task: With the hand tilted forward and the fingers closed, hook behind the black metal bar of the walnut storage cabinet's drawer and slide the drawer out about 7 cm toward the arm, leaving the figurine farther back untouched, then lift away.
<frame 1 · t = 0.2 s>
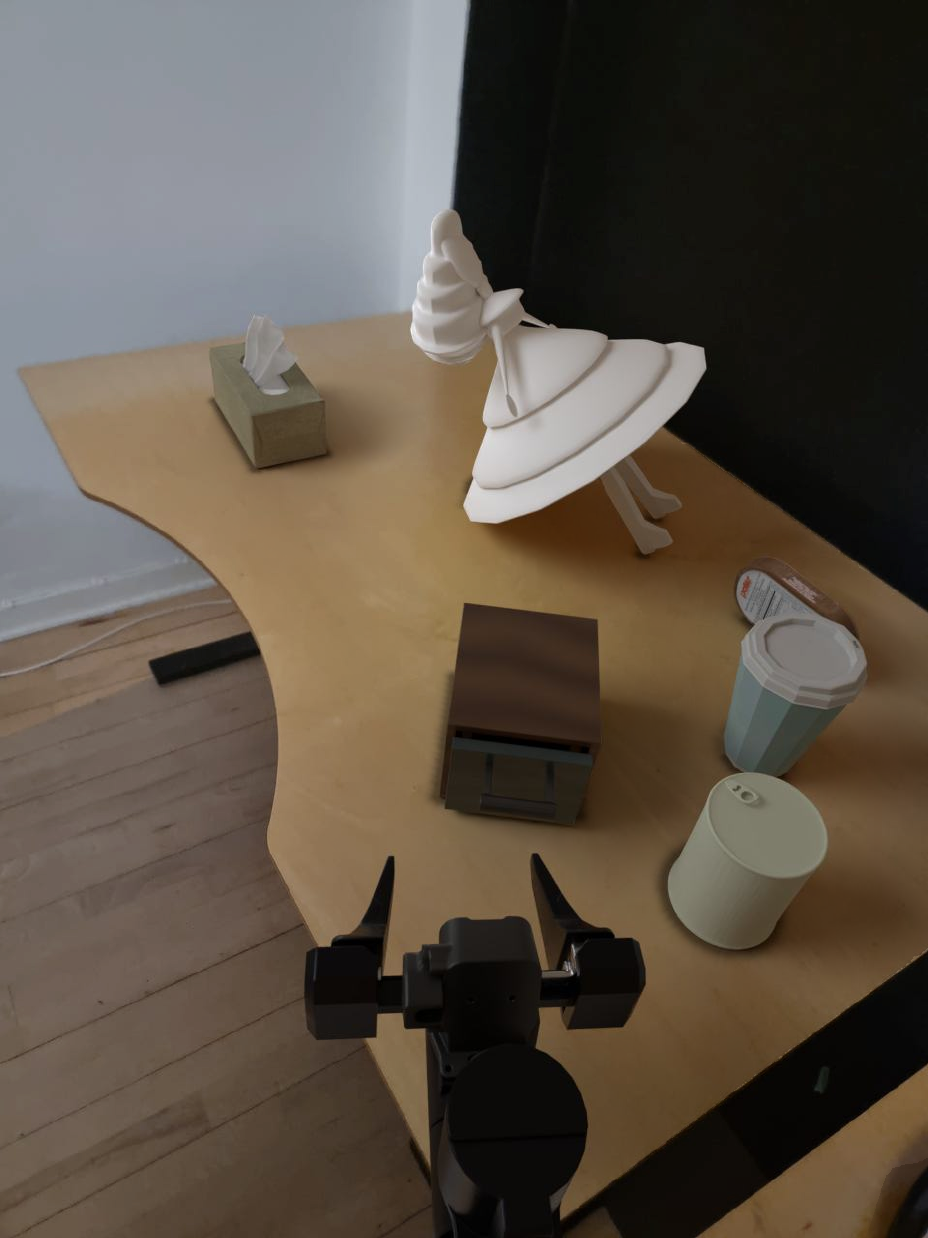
hand: (463, 857, 54), 16 cm above the table, tool horizontal, fingers open, 9 cm apart
drawer: (517, 745, 74), point 5 cm above the table, slide at 0.5 cm
tissue box: (269, 427, 117), on the table
cabinet: (512, 742, 81), on the table
disposable coffee cup: (753, 752, 83), on the table
tin: (778, 642, 95), on the table
figurine: (535, 502, 109), on the table
can: (721, 898, 71), on the table
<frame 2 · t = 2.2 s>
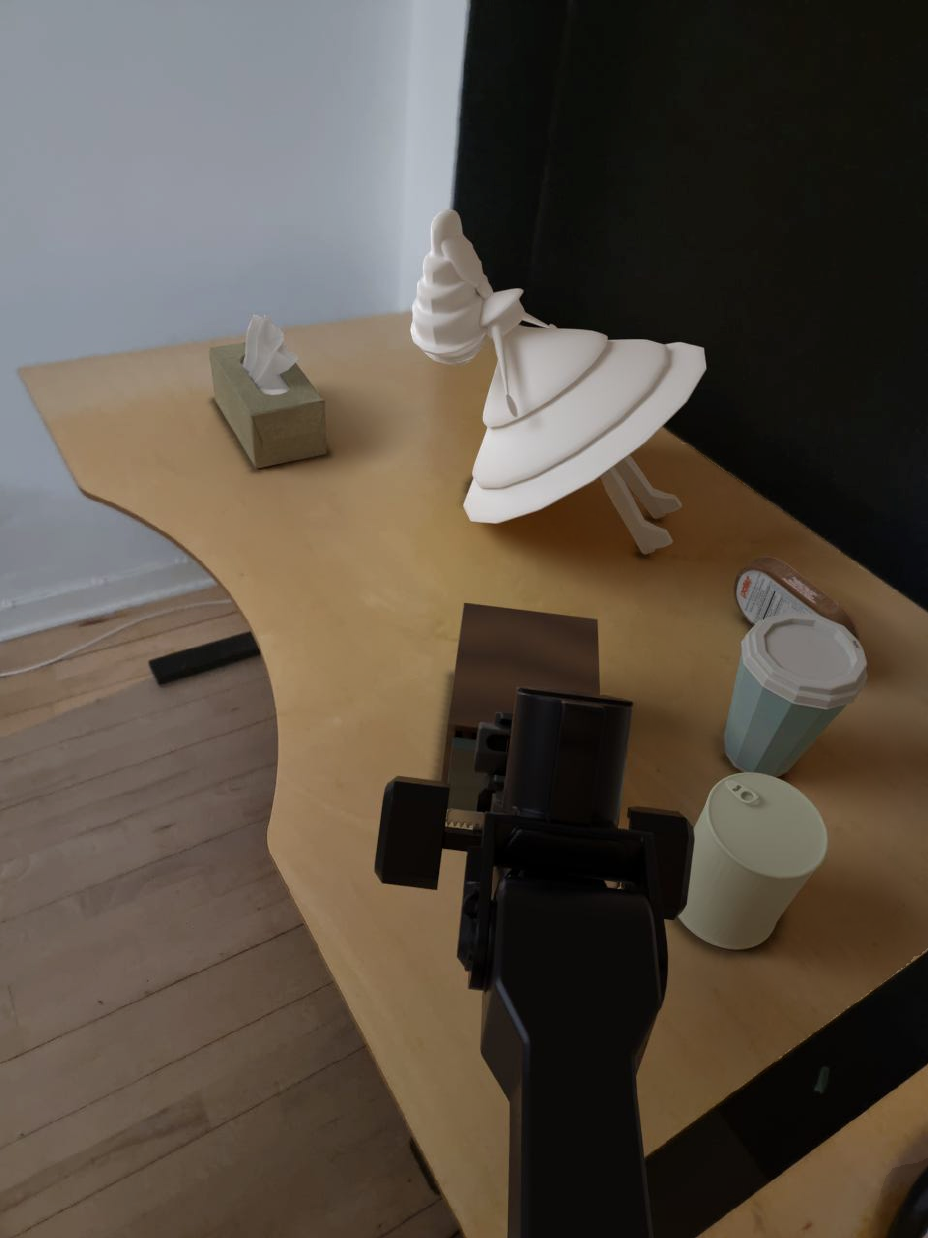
hand: (523, 816, 60), 13 cm above the table, tool tilted 45°, fingers closed
nothing on the table moved.
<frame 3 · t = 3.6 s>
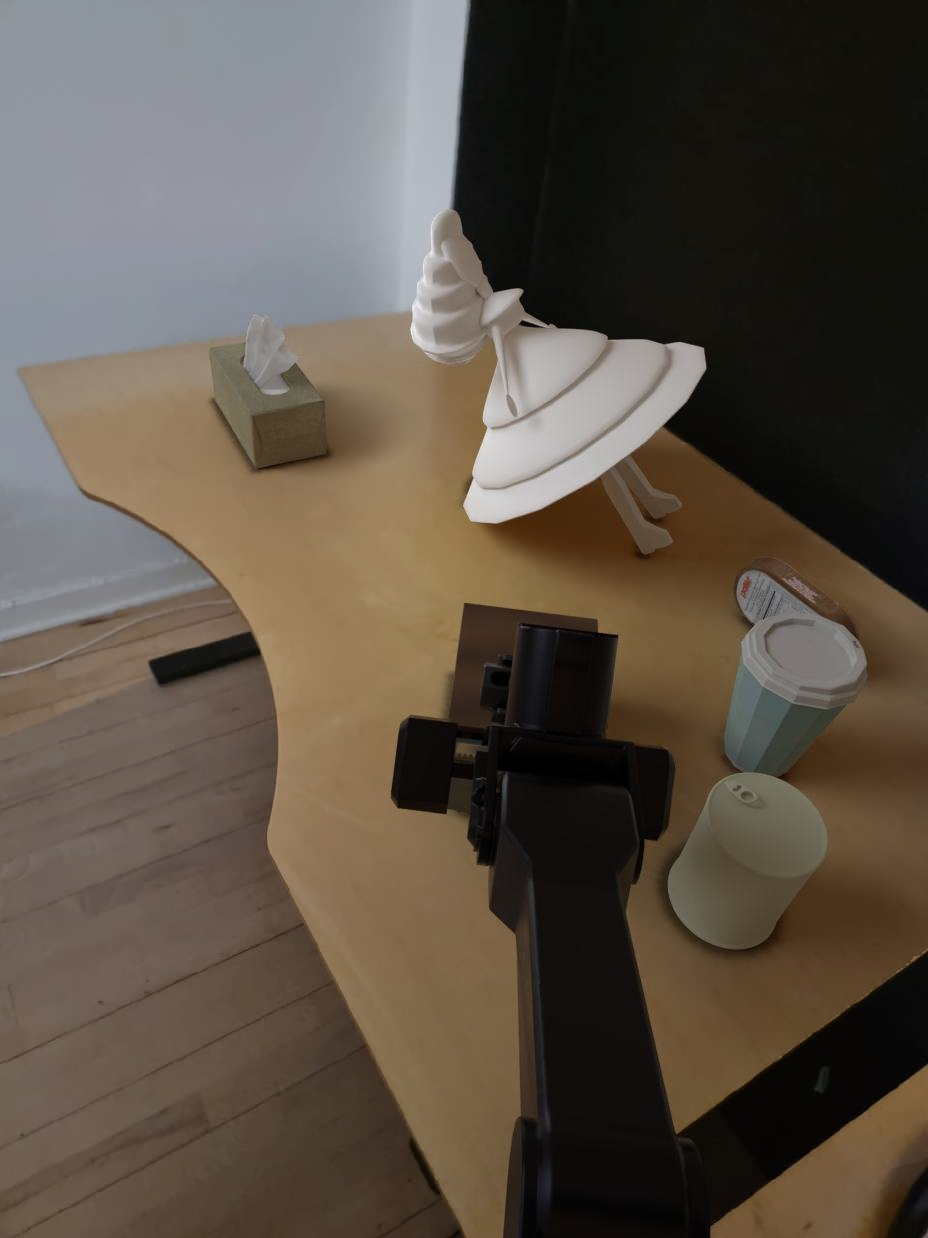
hand: (523, 758, 66), 11 cm above the table, tool tilted 45°, fingers closed
nothing on the table moved.
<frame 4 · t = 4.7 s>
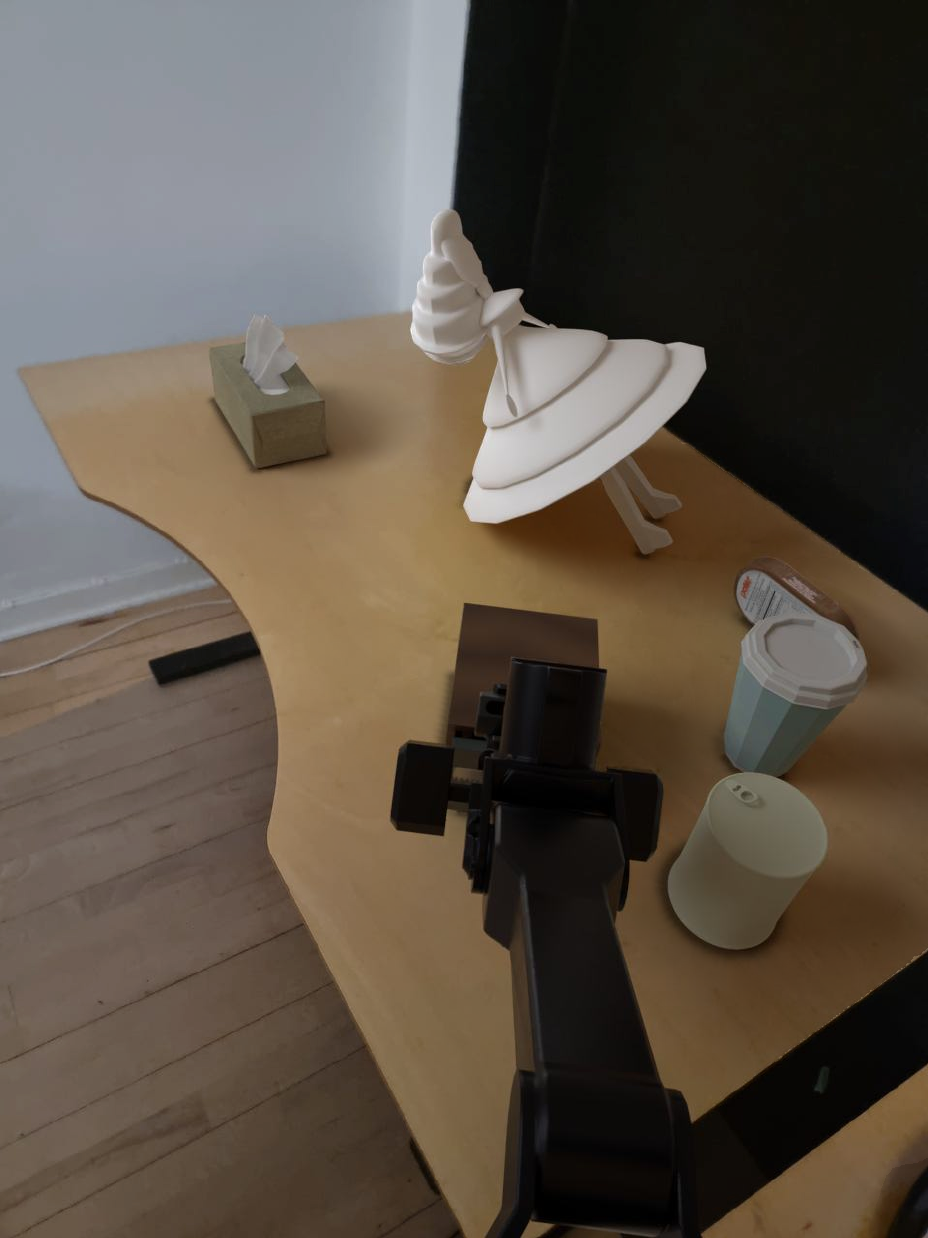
hand: (518, 779, 68), 8 cm above the table, tool tilted 45°, fingers closed, pressing on drawer
drawer: (517, 744, 74), point 5 cm above the table, slide at 0.5 cm, touching gripper
everything else where it was.
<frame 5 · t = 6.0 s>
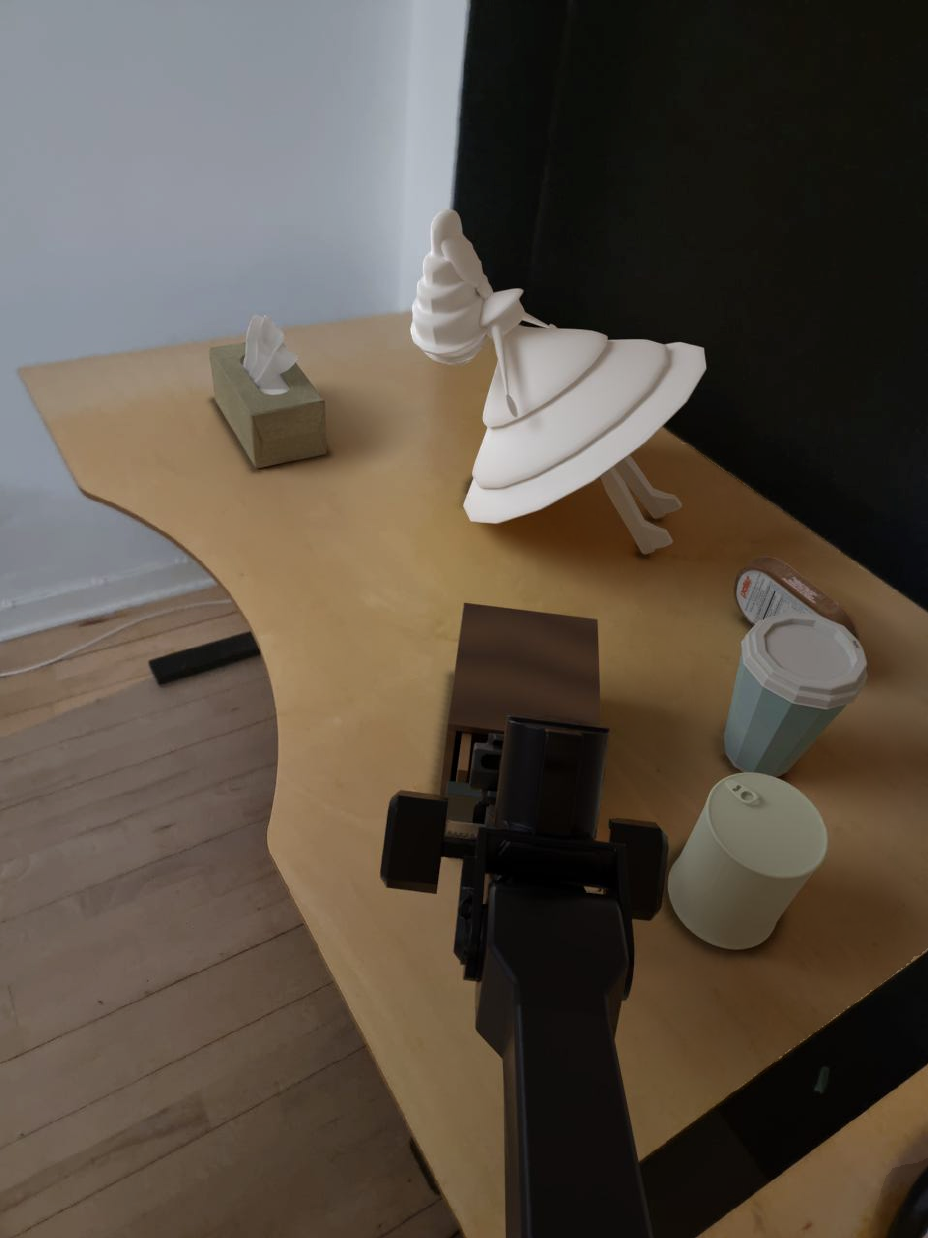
hand: (516, 826, 65), 8 cm above the table, tool tilted 45°, fingers closed, pressing on drawer
drawer: (515, 786, 71), point 5 cm above the table, slide at 4.8 cm, touching gripper
everything else where it was.
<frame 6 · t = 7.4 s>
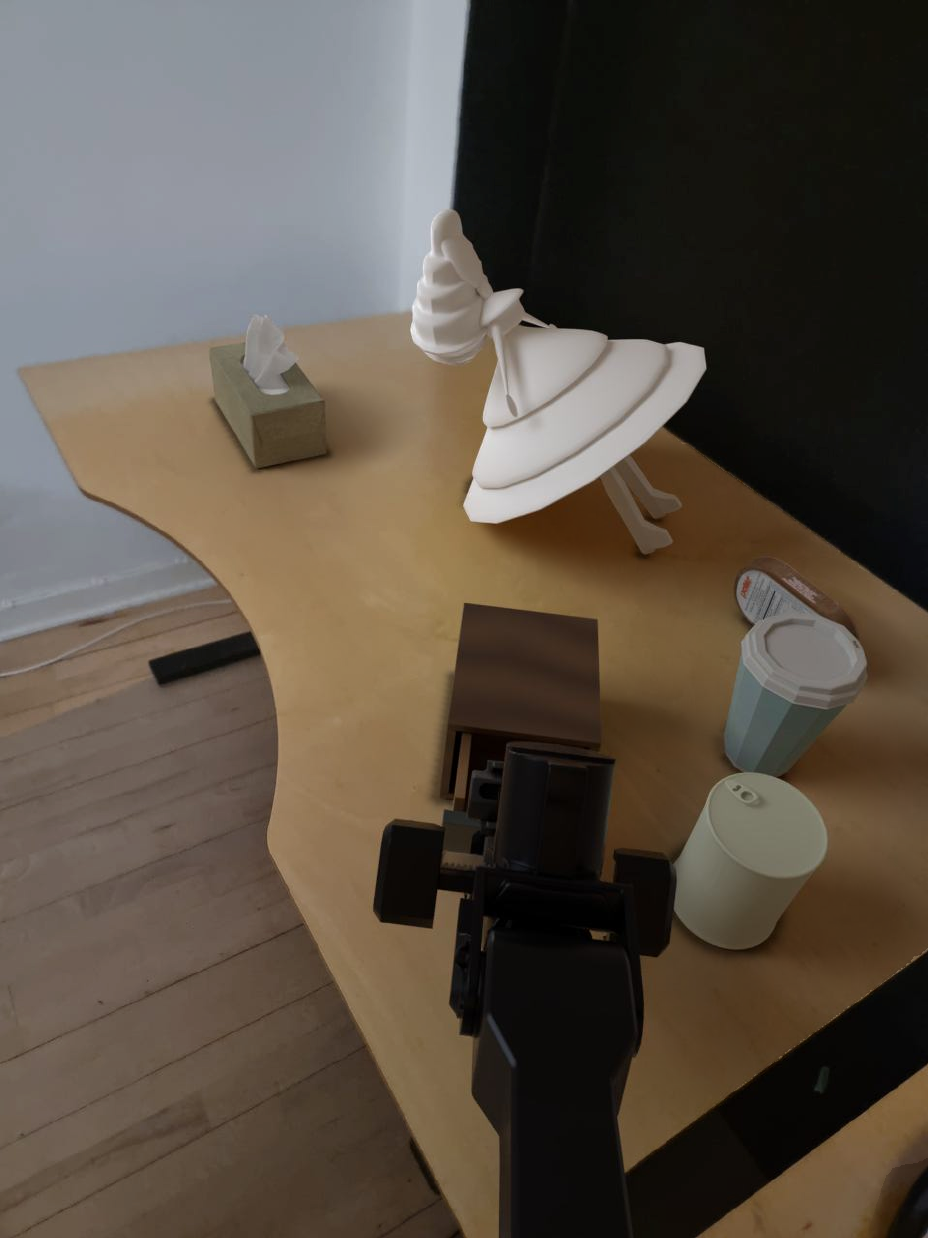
hand: (516, 853, 62), 9 cm above the table, tool tilted 45°, fingers closed
drawer: (513, 812, 69), point 5 cm above the table, slide at 7.4 cm
everything else where it was.
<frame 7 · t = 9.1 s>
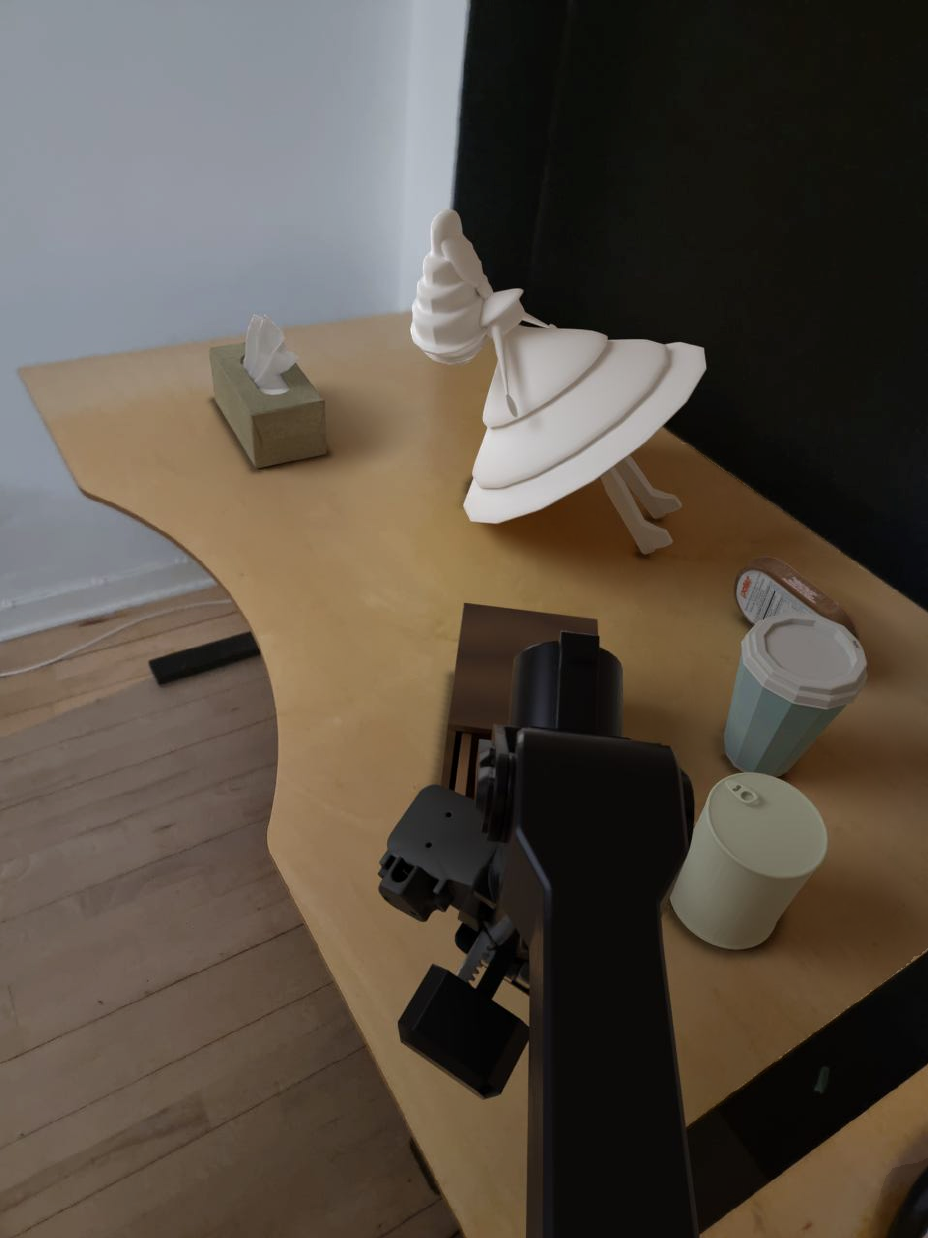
hand: (513, 940, 55), 12 cm above the table, tool pointing down, fingers closed
nothing on the table moved.
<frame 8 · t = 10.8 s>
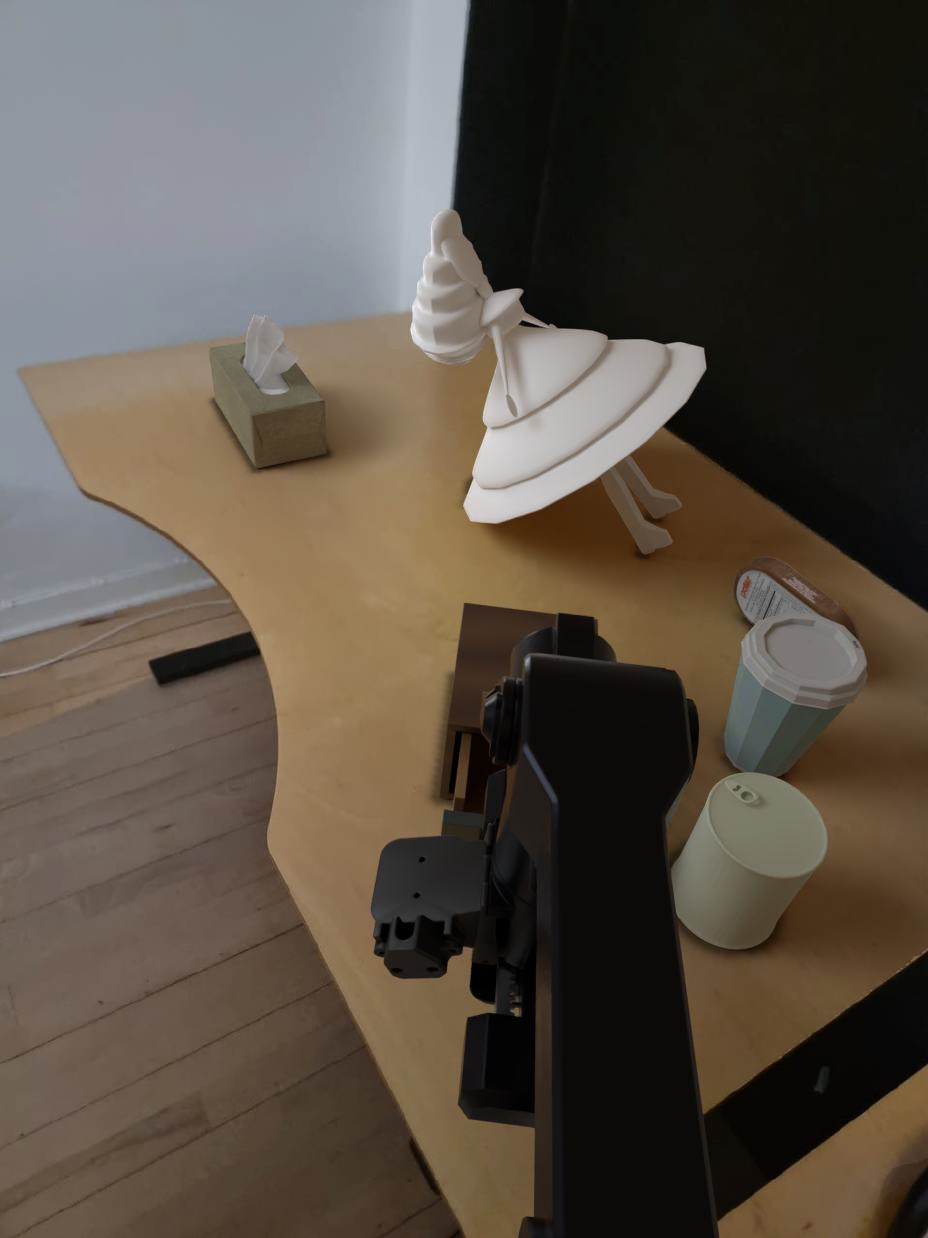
hand: (512, 989, 51), 13 cm above the table, tool pointing down, fingers closed
nothing on the table moved.
at the end: drawer slide at 7.4 cm; figurine moved 0.2 cm from its start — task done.
